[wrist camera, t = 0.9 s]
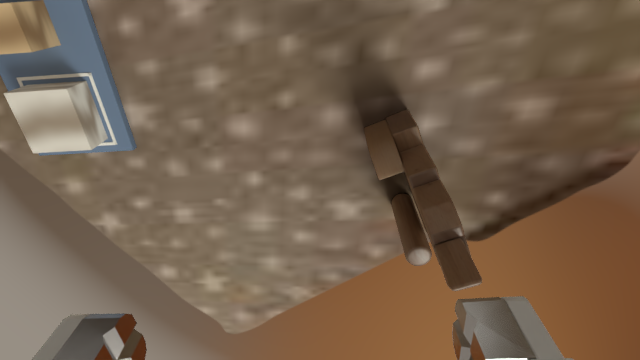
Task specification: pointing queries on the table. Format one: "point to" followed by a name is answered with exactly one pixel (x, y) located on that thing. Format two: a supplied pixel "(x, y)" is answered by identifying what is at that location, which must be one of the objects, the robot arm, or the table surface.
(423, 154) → the wooden toy
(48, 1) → the board
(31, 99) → the base block
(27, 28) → the oak cube
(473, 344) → the robot arm
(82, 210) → the table surface
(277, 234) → the table surface
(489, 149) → the table surface
